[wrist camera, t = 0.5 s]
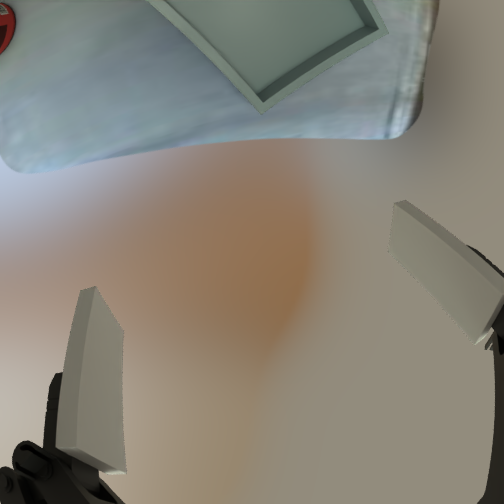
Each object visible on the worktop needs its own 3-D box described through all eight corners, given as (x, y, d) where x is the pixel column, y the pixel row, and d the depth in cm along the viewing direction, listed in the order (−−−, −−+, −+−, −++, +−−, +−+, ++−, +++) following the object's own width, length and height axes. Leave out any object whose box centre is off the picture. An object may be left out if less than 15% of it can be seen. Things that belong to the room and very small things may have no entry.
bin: (285, -87, 13) (299, -96, 11) (370, 28, 25) (389, 33, 23) (145, -3, 19) (140, -5, 17) (252, 103, 31) (261, 114, 29)
